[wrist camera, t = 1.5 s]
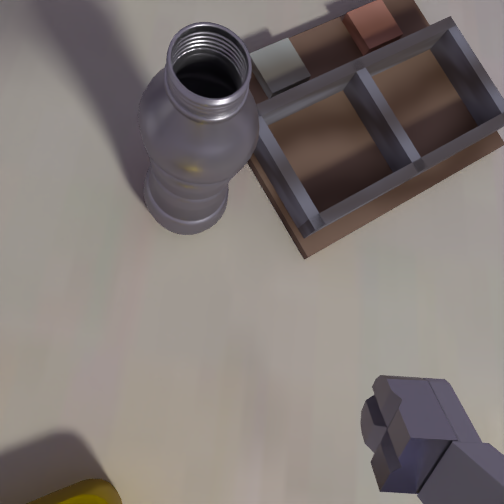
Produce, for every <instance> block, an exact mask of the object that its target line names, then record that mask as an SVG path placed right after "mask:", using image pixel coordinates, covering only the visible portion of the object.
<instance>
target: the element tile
mask: <svg viewBox="0 0 504 504" xmlns="http://www.w3.org/2000/svg"><path fill="white" fill-rule="evenodd" d="M27 504H122V501H121V498H120V496H119V494H118V492H117V490H116V489H115V488H114V487H113V486H112V485H111V484H110V483H109V482H107V481H104V480H102V479H88V480H84V481H80V482H78V483H76V484H73V485H71V486H68V487H66V488H63V489H61V490H58V491H56V492H54V493H51V494H49V495H46V496H44V497H41V498H39V499H36V500H34V501H32V502H29V503H27Z"/></svg>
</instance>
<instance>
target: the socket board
mask: <svg viewBox="0 0 504 504" xmlns="http://www.w3.org/2000/svg"><path fill="white" fill-rule="evenodd" d="M249 54H250V57H251V63H252V73H251V79H250V82H249V90H250V92H251V94H252V95H253V97H254V100H255V103H256V106H257V111H258V118H259V138H258V142H257V145H256V148H255V150H254V152H253V154H252V156H251V158H250V159H249V160H248V164H249V165H250V167H251V169H252V170H253V172H254V174H255V176H256V177H257V179H258V181H259V182H260V184H261V186H262V188H263V189H264V191H265V193H266V194H267V196H268V198H269V200H270V201H271V203H272V205H273V206H274V208H275V210H276V212H277V213H278V215H279V217H280V218H281V220H282V222H283V224H284V225H285V227H286V229H287V230H288V232H289V234H290V235H291V237H292V239H293V241H294V242H295V244H296V246H297V247H298V249H299V251H300V253H301V254H302V256H303V258H304V259H306V258H308V257H310V256H311V255H313V254H315V253H317V252H318V251H320V250H322V249H323V248H325V247H327V246H329V245H330V244H332V243H334V242H336V241H337V240H339V239H341V238H343V237H344V236H346V235H348V234H350V233H351V232H353V231H355V230H357V229H358V228H360V227H362V226H364V225H365V224H367V223H369V222H371V221H372V220H374V219H376V218H378V217H379V216H381V215H383V214H385V213H386V212H388V211H390V210H391V209H393V208H395V207H397V206H398V205H400V204H402V203H404V202H405V201H407V200H409V199H411V198H412V197H414V196H416V195H418V194H419V193H421V192H423V191H425V190H426V189H428V188H430V187H432V186H433V185H435V184H437V183H439V182H440V181H442V180H444V179H446V178H447V177H449V176H451V175H452V174H454V173H456V172H458V171H459V170H461V169H463V168H465V167H466V166H468V165H470V164H472V163H473V162H475V161H477V160H479V159H480V158H482V157H484V156H486V155H487V154H489V153H491V152H493V151H494V150H496V149H498V148H500V147H501V146H503V145H504V142H503V140H502V139H501V137H500V135H499V134H498V132H497V130H498V129H500V128H502V127H503V126H504V99H503V97H502V96H501V94H500V93H499V91H498V90H497V88H496V87H495V85H494V83H493V82H492V80H491V79H490V77H489V76H488V74H487V72H486V71H485V69H484V68H483V66H482V65H481V63H480V62H479V60H478V58H477V57H476V55H475V54H474V52H473V51H472V49H471V47H470V46H469V44H468V43H467V41H466V40H465V38H464V36H463V35H462V33H461V32H460V30H459V29H458V27H457V26H456V24H455V22H454V21H453V19H452V18H451V16H450V17H448V18H445V19H443V20H441V21H439V22H437V23H434V24H432V25H429V24H428V22H427V20H426V19H425V17H424V16H423V14H422V12H421V11H420V9H419V8H418V6H417V5H416V3H415V1H414V0H376V1H373V2H371V3H369V4H366V5H364V6H361V7H359V8H357V9H354V10H352V11H350V12H347V13H346V14H345V15H343V16H340V17H338V18H335V19H333V20H331V21H328V22H326V23H324V24H321V25H319V26H316V27H314V28H312V29H309V30H307V31H305V32H302V33H300V34H297V35H295V36H293V37H290V38H285V39H283V40H280V41H278V42H276V43H273V44H271V45H268V46H266V47H264V48H261V49H259V50H257V51H254V52H252V53H249Z"/></svg>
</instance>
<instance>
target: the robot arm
mask: <svg viewBox="0 0 504 504" xmlns="http://www.w3.org/2000/svg"><path fill="white" fill-rule="evenodd" d="M372 388H373V391H374V394H375V395H373V396H372V397H370V398H369V399H367V400H366V401H365V403H364V406H363V408H362V411H361V431H362V436H363V439H364V442H365V444H366V445H367V446H368V447H369V448H370V449H371V450H372V451H373V452H374V455H373V458H372V460H371V465H372V468H373V472H374V475H375V478H376V481H377V484H378V487H379V491H380V492H394V493H410V494H418V495H417V497H418V498H419V499H420V500H421V501H422V503H423V504H504V455H503V454H501V453H500V452H499V451H498V450H497V449H495V448H494V447H493V446H492V445H490V444H489V443H482V441H481V439H480V437H479V436H478V434H477V432H476V430H475V428H474V426H473V425H472V423H471V421H470V419H469V417H468V416H467V414H466V412H465V410H464V408H463V406H462V405H461V403H460V401H459V399H458V397H457V396H456V394H455V392H454V390H453V388H452V386H451V385H450V383H449V382H447V381H446V380H445V379H432V378H419V377H403V376H387V375H380V376H379V377H378V378H376V380H375V382H374V384H373V386H372Z"/></svg>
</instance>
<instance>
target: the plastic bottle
mask: <svg viewBox="0 0 504 504" xmlns="http://www.w3.org/2000/svg"><path fill="white" fill-rule="evenodd" d="M251 73H252V63H251V57H250V54H249V51H248V49H247V47H246V46H245V44H244V43H243V41H242V40H241V39H240V38H239V37H238V36H237V35H236V34H235V33H234V32H232V31H231V30H229V29H228V28H226V27H224V26H221V25H219V24H215V23H210V22H199V23H194V24H191V25H188V26H186V27H184V28H182V29H181V30H180V31H179V32H178V33H177V34H175V36H174V37H173V39H172V40H171V43H170V45H169V48H168V51H167V59H166V65H165V68H163V69H162V70H160V71H159V72H158V73H157V74H156V75H155V76H154V77H153V79H152V80H151V82H150V83H149V85H148V86H147V88H146V90H145V91H144V93H143V96H142V98H141V101H140V104H139V112H138V121H139V129H140V133H141V137H142V140H143V144H144V146H145V148H146V151H147V153H148V155H149V158H150V163H151V165H150V167H149V169H148V171H147V174H146V177H145V180H144V187H143V191H144V199H145V202H146V206H147V208H148V210H149V212H150V213H151V214H152V216H153V217H154V218H155V220H156V221H157V222H158V223H159V224H160V225H161V226H163V227H164V228H166V229H167V230H169V231H171V232H174V233H177V234H182V235H193V234H197V233H200V232H203V231H205V230H207V229H209V228H210V227H212V226H213V225H214V224H216V223H217V222H218V220H219V219H220V218H221V217H222V215H223V213H224V211H225V209H226V206H227V201H228V190H229V189H228V183H229V181H230V180H231V178H233V177H234V176H235V175H236V174H237V173H238V172H239V171H240V170H241V169H242V168H243V167H244V165H245V164H246V163H247V162H248V160H249V159H250V158H251V156H252V154H253V152H254V150H255V148H256V145H257V142H258V138H259V118H258V111H257V106H256V103H255V100H254V97H253V95H252V94H251V92H250V90H249V82H250V79H251Z"/></svg>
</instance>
